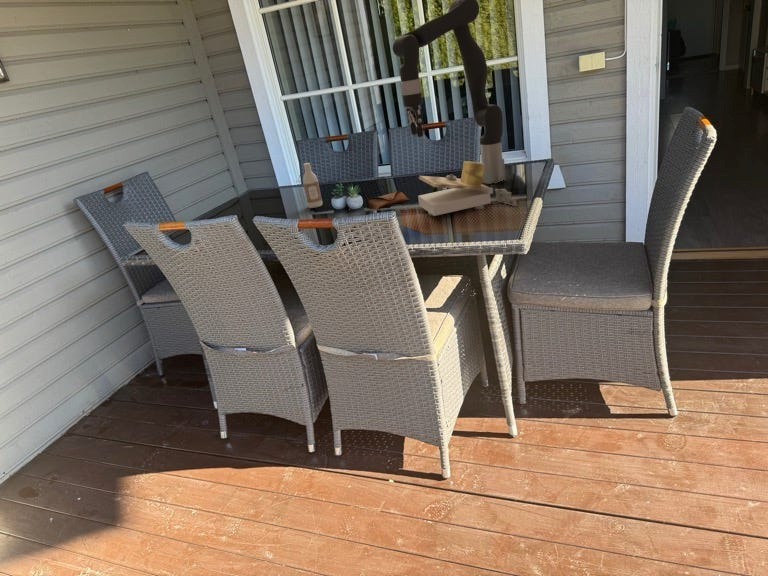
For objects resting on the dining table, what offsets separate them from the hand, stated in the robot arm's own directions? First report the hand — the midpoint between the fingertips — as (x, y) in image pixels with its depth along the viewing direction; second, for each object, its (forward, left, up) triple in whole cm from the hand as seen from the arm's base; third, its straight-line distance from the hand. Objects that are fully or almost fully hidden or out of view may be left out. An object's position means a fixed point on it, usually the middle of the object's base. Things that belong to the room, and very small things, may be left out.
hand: (417, 135), depth 205 cm
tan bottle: (+43, -37, -28) cm, 63 cm away
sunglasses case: (+12, -13, -29) cm, 34 cm away
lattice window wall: (-24, +24, -28) cm, 45 cm away
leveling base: (-6, +16, -28) cm, 33 cm away
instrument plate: (-7, +16, -19) cm, 26 cm away
